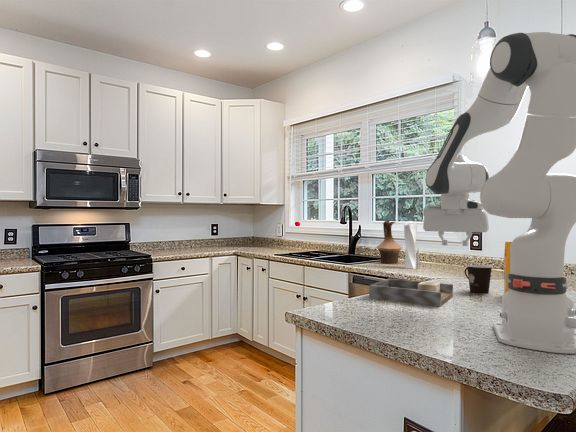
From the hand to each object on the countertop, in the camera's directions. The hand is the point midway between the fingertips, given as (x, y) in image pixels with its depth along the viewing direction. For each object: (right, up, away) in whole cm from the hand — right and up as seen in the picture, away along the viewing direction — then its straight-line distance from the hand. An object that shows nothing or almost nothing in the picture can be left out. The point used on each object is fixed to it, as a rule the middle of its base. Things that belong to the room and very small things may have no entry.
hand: (454, 245), depth 129 cm
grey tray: (-12, -19, +8) cm, 24 cm away
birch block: (-7, -18, +5) cm, 20 cm away
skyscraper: (+15, -21, +93) cm, 97 cm away
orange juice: (+26, -20, +7) cm, 34 cm away
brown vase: (+10, -21, +121) cm, 123 cm away
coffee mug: (+18, -20, +20) cm, 33 cm away
